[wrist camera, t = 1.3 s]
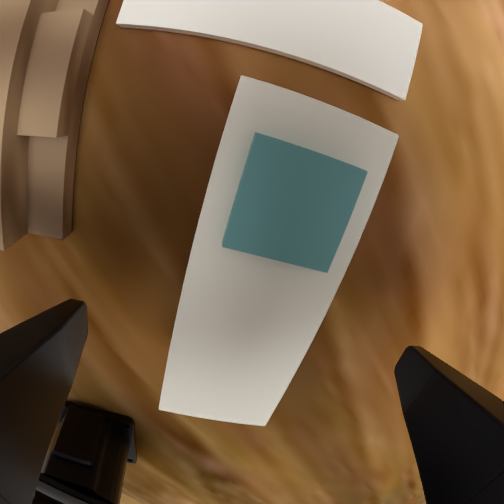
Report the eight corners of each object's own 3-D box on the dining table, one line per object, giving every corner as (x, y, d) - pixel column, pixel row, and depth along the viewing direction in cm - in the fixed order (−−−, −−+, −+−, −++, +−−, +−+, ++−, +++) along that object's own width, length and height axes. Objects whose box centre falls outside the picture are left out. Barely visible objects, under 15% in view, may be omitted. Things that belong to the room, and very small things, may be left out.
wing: (392, 100, 12) (405, 100, 11) (124, 29, 10) (115, 23, 9) (409, 28, 11) (422, 24, 10) (153, -44, 9) (147, -55, 7)
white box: (255, 351, 17) (265, 433, 12) (172, 334, 16) (157, 417, 11) (340, 125, 12) (406, 137, 7) (236, 90, 11) (241, 73, 7)
